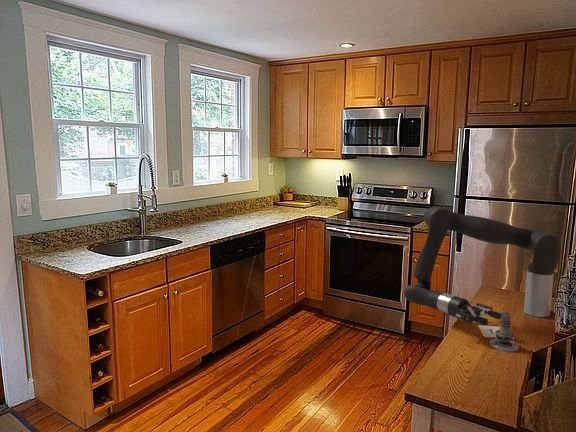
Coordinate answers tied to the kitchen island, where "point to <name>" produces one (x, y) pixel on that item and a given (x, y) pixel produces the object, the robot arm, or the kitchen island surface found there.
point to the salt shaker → (504, 331)
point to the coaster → (507, 349)
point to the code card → (489, 330)
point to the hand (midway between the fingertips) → (494, 319)
